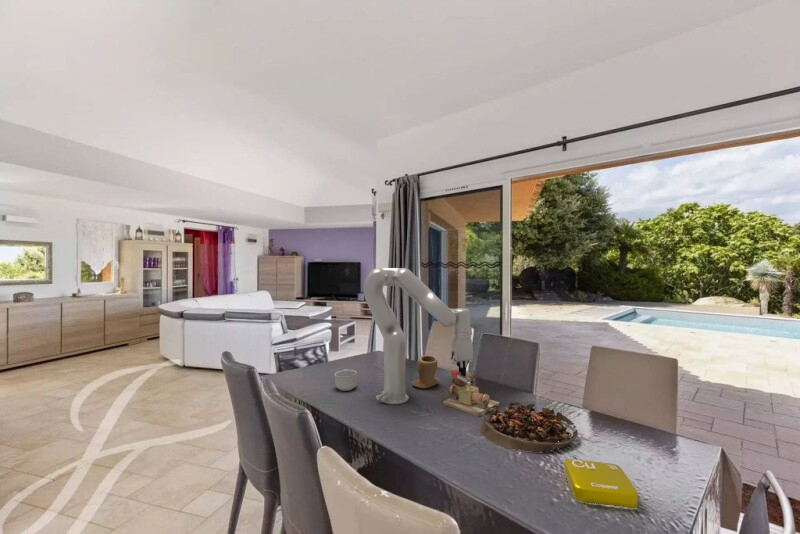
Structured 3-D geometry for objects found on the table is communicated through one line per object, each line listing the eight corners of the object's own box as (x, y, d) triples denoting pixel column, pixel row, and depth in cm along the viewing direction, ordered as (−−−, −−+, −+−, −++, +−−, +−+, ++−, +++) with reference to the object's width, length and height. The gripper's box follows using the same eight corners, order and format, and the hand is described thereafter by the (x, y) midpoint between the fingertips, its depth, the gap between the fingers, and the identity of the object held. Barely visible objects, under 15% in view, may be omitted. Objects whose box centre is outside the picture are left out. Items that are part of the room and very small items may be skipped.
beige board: (478, 416, 149) (478, 412, 149) (443, 404, 161) (443, 401, 161) (499, 405, 160) (499, 402, 160) (464, 395, 173) (464, 392, 173)
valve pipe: (482, 410, 151) (483, 392, 151) (447, 399, 163) (447, 382, 163) (490, 406, 155) (490, 389, 155) (455, 395, 168) (455, 379, 168)
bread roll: (463, 393, 185) (470, 380, 183) (447, 381, 191) (453, 368, 189) (472, 388, 193) (479, 375, 191) (456, 376, 199) (462, 364, 197)
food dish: (532, 410, 158) (533, 392, 158) (600, 448, 127) (601, 425, 127) (461, 420, 146) (461, 400, 146) (516, 464, 115) (517, 439, 115)
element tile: (575, 504, 95) (575, 485, 95) (562, 472, 110) (562, 456, 110) (640, 512, 92) (640, 493, 92) (618, 478, 107) (618, 462, 107)
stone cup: (427, 392, 176) (427, 360, 176) (408, 386, 185) (408, 356, 184) (446, 384, 187) (446, 355, 187) (428, 379, 196) (428, 351, 195)
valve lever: (472, 385, 159) (472, 377, 159) (467, 386, 158) (467, 378, 158) (456, 377, 171) (456, 369, 171) (451, 377, 170) (451, 370, 169)
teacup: (355, 392, 175) (355, 376, 175) (332, 392, 176) (332, 375, 176) (359, 383, 189) (359, 367, 189) (337, 383, 190) (338, 367, 190)
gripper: (470, 332, 176) (470, 371, 176) (443, 335, 169) (444, 376, 169) (480, 335, 169) (480, 375, 169) (453, 338, 163) (453, 380, 163)
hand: (462, 375), depth 169 cm, fingers closed
